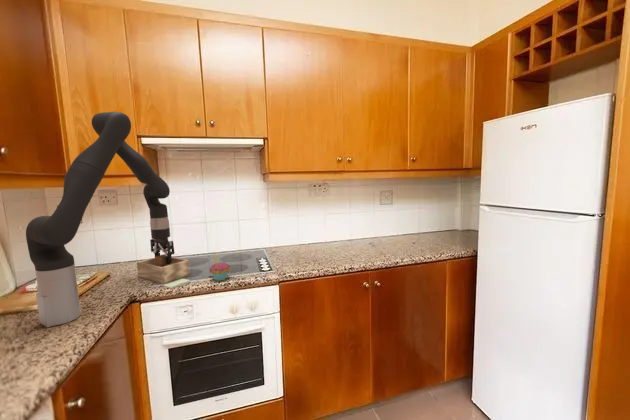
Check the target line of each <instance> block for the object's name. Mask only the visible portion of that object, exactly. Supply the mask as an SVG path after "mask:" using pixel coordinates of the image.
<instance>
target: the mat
mask: <svg viewBox="0 0 630 420" xmlns="http://www.w3.org/2000/svg"><path fill="white" fill-rule="evenodd" d="M188 283H191V279H188V278H187V279H186V278H180V279H177V280H174V281H171V282H168V283H165V284H162V286H163V287H164V288H167V289H174V288H177V287H180V286H182V285H185V284H188Z"/></svg>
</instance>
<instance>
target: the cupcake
mask: <svg viewBox="0 0 630 420" xmlns="http://www.w3.org/2000/svg"><path fill="white" fill-rule="evenodd" d="M213 256H214V257H213V258H214V260H215V263H213V264H212V265H211V266H210V267H209V273H210V274H212V276H213V279H214V281H218V282H219V281H224V280H226V279H227V276H228V273H229V272H230V271H231V266H230V264H229V263H227V262H218V259H217V255H216V253H215V252H213Z"/></svg>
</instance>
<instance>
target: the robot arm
mask: <svg viewBox="0 0 630 420" xmlns="http://www.w3.org/2000/svg"><path fill="white" fill-rule="evenodd" d="M91 126H92V128H93V130H94V132H95V133H96V135H98V138H97V139H95V141H94V142H93V143H92V144H90V145H89V146H88V147H87V148H85V149H84V150H82V152H80V153H79V154H78V155H77V156H76V157H75V158H74V159H73V161H72V162H71V163H70V166H69V168H68V169H67V171H66V173H65V175H64V179H63V191H62V192H63V193H62V197H61V200H60V201H59V204H58V205H57V207H56V209H55V210H54V211H53V213H52V214H51V215H42V216H37V217H34V218H33V219H32V220H30V221H29V223H28V224H27V226H26V228H25V238H26V244H27V248H28V249H27V250H28V255H29V259H30V261H31V263H32V264H33V265H34V270H35V277H36V283H37V284H36V285H37V286H36V287H37V291H38V292H37V293H36V303H37V309H38V318H39V324H41V325H42V326H44V327H45V328H49V327H54V326H59V325H63V324H67V323H69V322H72V321H74V320H76V319H77V318H79V317H81V306H80V298H79V297H80V296H79V289H78V280H77V273H76V265H75V256H74V255H73V254H71V253H70V252H69V251H68V250H67V248H66V246H65V245H67V244H69V243H70V242H71V241H72V240H73V239H74V238H75V236H76V234H77V233H78V230H79V227H80V225H81V223H82V220H83V217H84V215H85V211H86V209H87V208H88V206H89V204H90V202H91V199H92V198H93V196H94V194H95V192H96V190H97V189H98V187H99V185H100V183H101V182H102V180H103V178H104V176H105V174H106V172H107V170H108V168H109V167H110V164H111V163H112V161H113V160H114V158H115V157H116V156H115V155H117V156H118V157H119V158H120V159H121V160H122V161H123V162H124V163H125V165H126V166H127V167H128V168H129V169H130V171H131V173H132V174H133V175H134V177H135V178H136V179H137V180H138V181H139V182H140V183H142V184H145V185H144V187H143V196H144V199H145V202H146V205H147V207H148V209H149V219H150V220H149V226H150V227H149V228H150V235H151V236H150V237H151V239H149V241H150V242H149V243H150V251H151V253H153V254H154V257H155V256H159V255H161V251H162V253H163V254H165V255H166V264H171V263H172V259H171V257H172V255H175V246H174V241H173V240H169V238H170V237H171V228H170V220H169V214H168V206H167V205H166V204H165V203H161V202H160V200H159V199H162V200H163V199H166V198H168V197H169V195H170V194H171V193H170V192H171V191H170V187H169V185H168V183H167V182H166V181H165V180H164V179H163V178H162V177H161V176H159V174H157V173H156V172H155V171H154V169H153V168H152V166H151V164H150V163H149V162H148V161H147V159H146V158H145V157H144V156H143V155H142V154H141V153H139V152H138V151H136V150H135V149H134V148H133V147H132V146H130V145H129V143H127V141H125V140H127V138H128V136H129V135H130V133H131V130H132V122H131V119H130V117H129V116H128V115H127V114H126V113H123V112H122V111H121V112H120V111H108V112H107V111H105V112H99V113H98V112H97V113H95V114H94V115H93V116H92V119H91Z"/></svg>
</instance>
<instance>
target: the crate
mask: <svg viewBox="0 0 630 420" xmlns="http://www.w3.org/2000/svg"><path fill="white" fill-rule="evenodd" d="M171 259H172V263H171V265H168V266H164V267H159V266H156V265H155V257H153V258H149V259H144V260H141V261H137V262H136V267H137V268H136V269H137V278H140V279H143V280H147V281H148V282H152V283H153V282H154V283H157V284H160V285H166V284H169V283H172V282H174V281H177V280H180V279H184V278H185V277H188V276H190V275H191V273H190V271H191V270H190V260H189V259H185V258H179V257H175V256H171Z"/></svg>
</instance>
